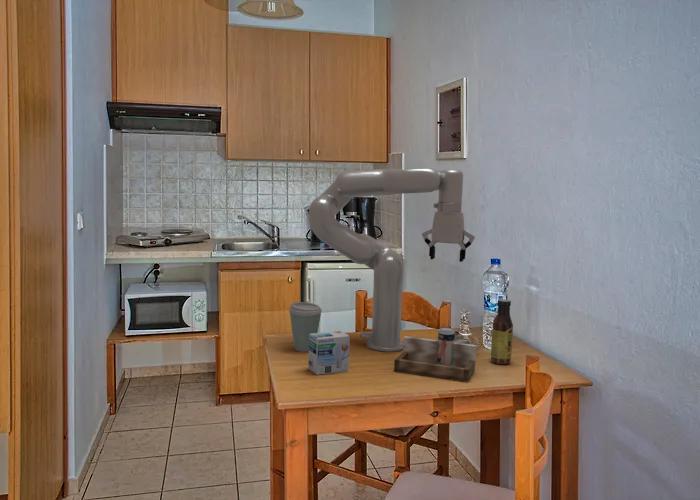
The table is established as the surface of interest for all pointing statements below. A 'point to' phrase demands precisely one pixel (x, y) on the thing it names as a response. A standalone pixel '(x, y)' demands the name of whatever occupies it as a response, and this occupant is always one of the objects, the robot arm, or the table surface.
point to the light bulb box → (328, 352)
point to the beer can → (445, 346)
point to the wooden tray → (435, 360)
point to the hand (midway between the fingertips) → (446, 260)
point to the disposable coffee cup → (304, 323)
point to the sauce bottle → (502, 334)
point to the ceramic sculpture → (460, 339)
